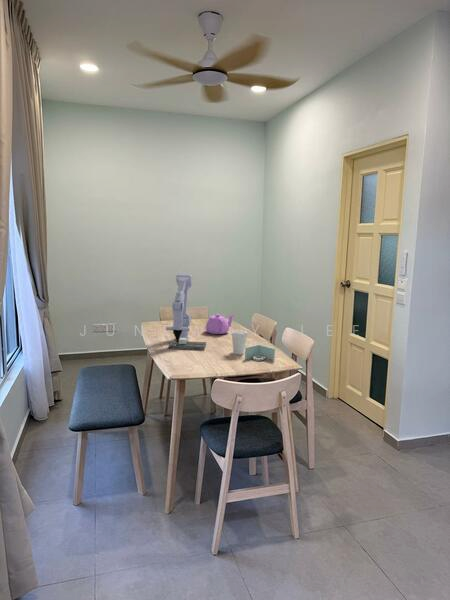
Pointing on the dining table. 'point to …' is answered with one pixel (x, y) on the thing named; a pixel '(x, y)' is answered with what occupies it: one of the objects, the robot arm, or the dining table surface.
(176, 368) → the dining table surface
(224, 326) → the teapot
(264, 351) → the l-shaped corner panel
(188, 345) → the fader panel
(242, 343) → the foam cup
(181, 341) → the fader
